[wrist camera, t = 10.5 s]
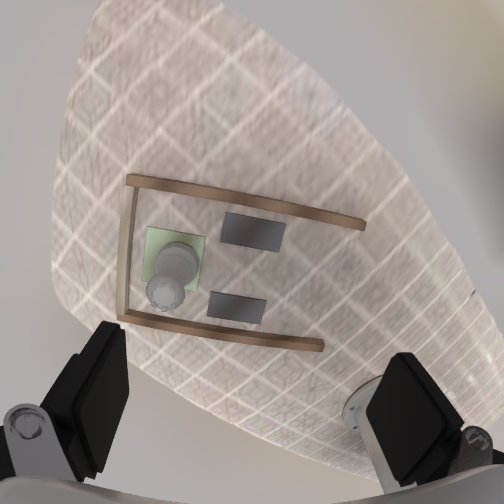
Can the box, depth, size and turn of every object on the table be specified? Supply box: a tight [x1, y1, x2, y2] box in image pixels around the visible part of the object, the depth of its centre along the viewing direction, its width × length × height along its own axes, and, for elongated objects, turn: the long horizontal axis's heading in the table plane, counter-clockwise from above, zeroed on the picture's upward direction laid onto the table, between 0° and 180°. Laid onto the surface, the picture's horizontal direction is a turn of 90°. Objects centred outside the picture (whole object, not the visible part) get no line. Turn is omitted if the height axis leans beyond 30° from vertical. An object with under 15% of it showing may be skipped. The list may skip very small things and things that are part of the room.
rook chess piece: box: [146, 243, 199, 312], centre depth 27 cm, size 4×4×8 cm
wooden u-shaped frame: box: [116, 174, 367, 352], centre depth 31 cm, size 24×16×2 cm, turn 78°
